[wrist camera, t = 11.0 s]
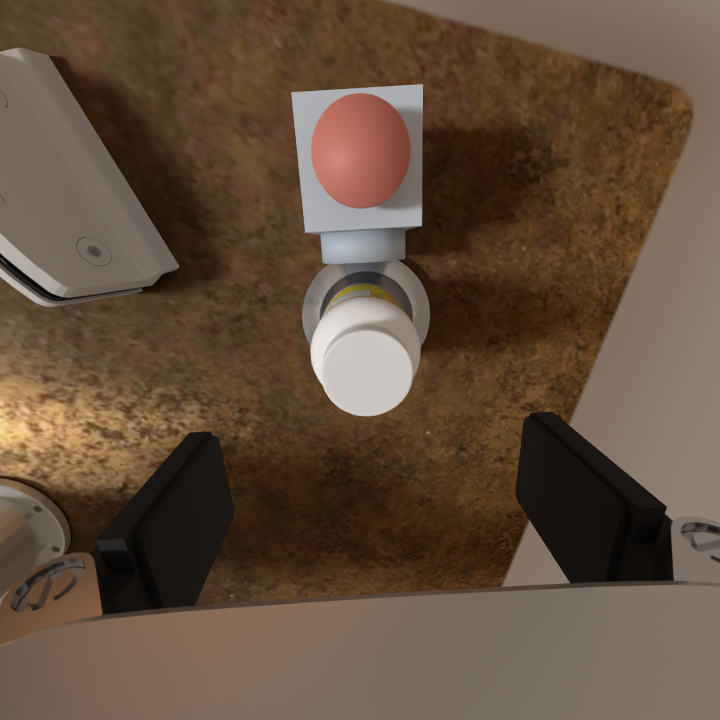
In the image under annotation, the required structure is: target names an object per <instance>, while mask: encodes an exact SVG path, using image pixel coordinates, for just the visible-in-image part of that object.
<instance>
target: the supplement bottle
mask: <svg viewBox="0 0 720 720" xmlns="http://www.w3.org/2000/svg"><path fill="white" fill-rule="evenodd" d="M311 361H312V365H313V368H314V371H315V374H316V376H317V377H318V379H319V381H320V382H321V384H322V385H323V387H324V390H325V392H326V393H327V395H328V397H329V398H330V399H331V400H332V402H333V403H334V404H336V405H337V406H338V407H339V408H341V409H342V410H344V411H346V412H348V413H351V414H354V415H359V416H374V415H379V414H382V413H385V412H387V411H389V410H391V409H393V408H394V407H396V406H397V405H398V404H399V403H400V402H401V401H402V400H403V399H404V398H405V397H406V395H407V394H408V392H409V390H410V387H411V385H412V381H413V377H414V375H415V373H416V371H417V369H418V365H419V362H420V341H419V337H418V334H417V331H416V329H415V327H414V325H413V323H412V322H411V320H410V319H409V317H408V316H407V314H406V313H405V311H404V310H403V308H402V307H401V305H400V304H399V303H398V301H397V300H396V299H395V297H394V296H393V295H392V294H391V293H390V292H388V291H387V290H385V289H384V288H382V287H380V286H378V285H375V284H370V283H358V284H353V285H350V286H348V287H346V288H344V289H342V290H341V291H339V292H338V293H337V294H336V295H335V296H334V297H333V298H332V300H331V301H330V302H329V304H328V306H327V308H326V310H325V312H324V314H323V316H322V318H321V320H320V322H319V324H318V325H317V328H316V330H315V332H314V335H313V338H312V343H311Z"/></svg>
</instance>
